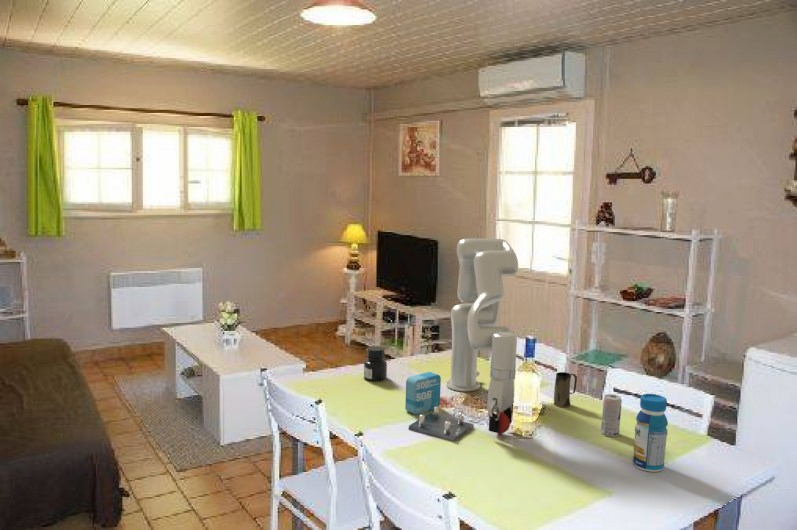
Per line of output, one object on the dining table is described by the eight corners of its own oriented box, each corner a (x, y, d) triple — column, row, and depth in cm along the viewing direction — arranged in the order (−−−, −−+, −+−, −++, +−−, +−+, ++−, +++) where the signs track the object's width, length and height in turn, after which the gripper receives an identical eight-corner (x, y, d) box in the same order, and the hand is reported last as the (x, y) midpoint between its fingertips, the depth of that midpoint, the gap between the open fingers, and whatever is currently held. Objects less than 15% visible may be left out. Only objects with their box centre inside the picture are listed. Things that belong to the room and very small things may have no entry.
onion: (497, 439, 198) (498, 414, 197) (486, 432, 203) (487, 408, 202) (513, 436, 201) (514, 411, 200) (501, 429, 206) (503, 405, 205)
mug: (550, 404, 230) (552, 371, 228) (559, 400, 234) (561, 368, 232) (569, 410, 224) (571, 376, 222) (578, 407, 228) (580, 373, 226)
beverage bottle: (661, 475, 177) (667, 405, 174) (628, 467, 181) (634, 398, 178) (666, 464, 184) (672, 396, 181) (635, 457, 188) (641, 390, 186)
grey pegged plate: (429, 416, 215) (430, 402, 215) (473, 427, 207) (474, 413, 206) (408, 429, 205) (409, 414, 204) (454, 441, 196) (454, 426, 195)
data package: (413, 415, 216) (414, 380, 214) (404, 411, 219) (405, 377, 218) (440, 408, 224) (441, 374, 222) (431, 404, 227) (432, 370, 225)
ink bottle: (363, 374, 258) (363, 345, 256) (385, 374, 259) (386, 344, 257) (364, 382, 248) (364, 352, 246) (387, 382, 249) (388, 351, 247)
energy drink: (620, 432, 206) (622, 395, 204) (617, 438, 201) (620, 401, 200) (602, 429, 208) (605, 393, 207) (599, 435, 204) (602, 398, 202)
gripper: (502, 363, 209) (500, 415, 211) (479, 377, 194) (476, 433, 196) (525, 368, 205) (522, 421, 207) (502, 382, 190) (499, 439, 192)
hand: (500, 426), depth 202 cm, fingers open, 8 cm apart
